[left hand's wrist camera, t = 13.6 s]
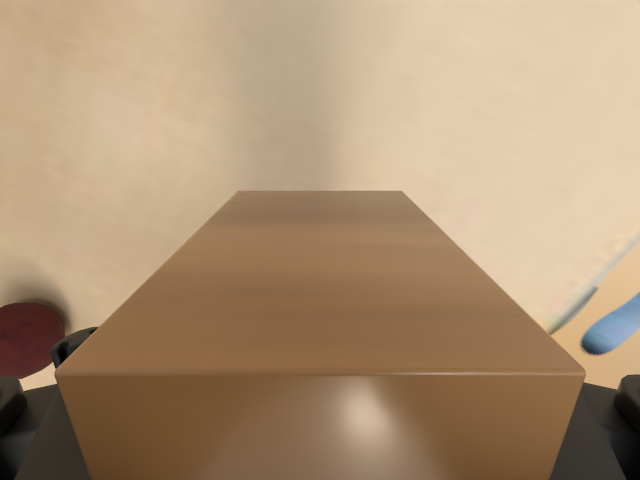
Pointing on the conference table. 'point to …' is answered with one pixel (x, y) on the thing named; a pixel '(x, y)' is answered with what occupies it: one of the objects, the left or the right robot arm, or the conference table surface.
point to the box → (320, 355)
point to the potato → (27, 338)
